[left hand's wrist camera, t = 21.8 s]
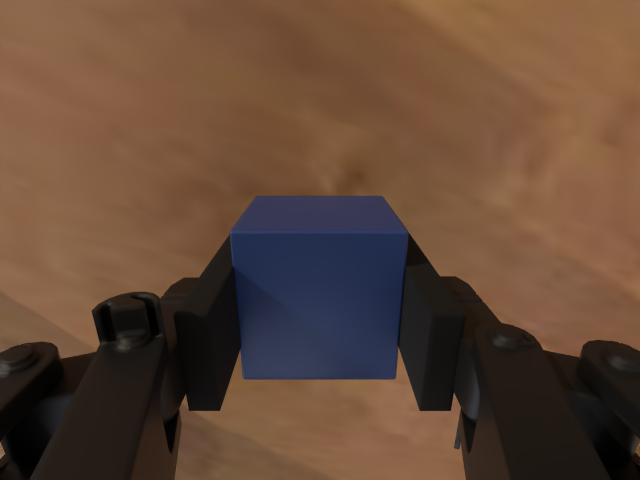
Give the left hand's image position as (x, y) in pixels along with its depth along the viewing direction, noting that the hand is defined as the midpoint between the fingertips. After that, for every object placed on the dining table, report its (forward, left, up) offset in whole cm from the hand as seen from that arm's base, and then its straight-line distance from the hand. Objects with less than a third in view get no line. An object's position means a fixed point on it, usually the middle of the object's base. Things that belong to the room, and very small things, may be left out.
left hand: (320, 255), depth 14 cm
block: (0, 0, 0) cm, 0 cm away
